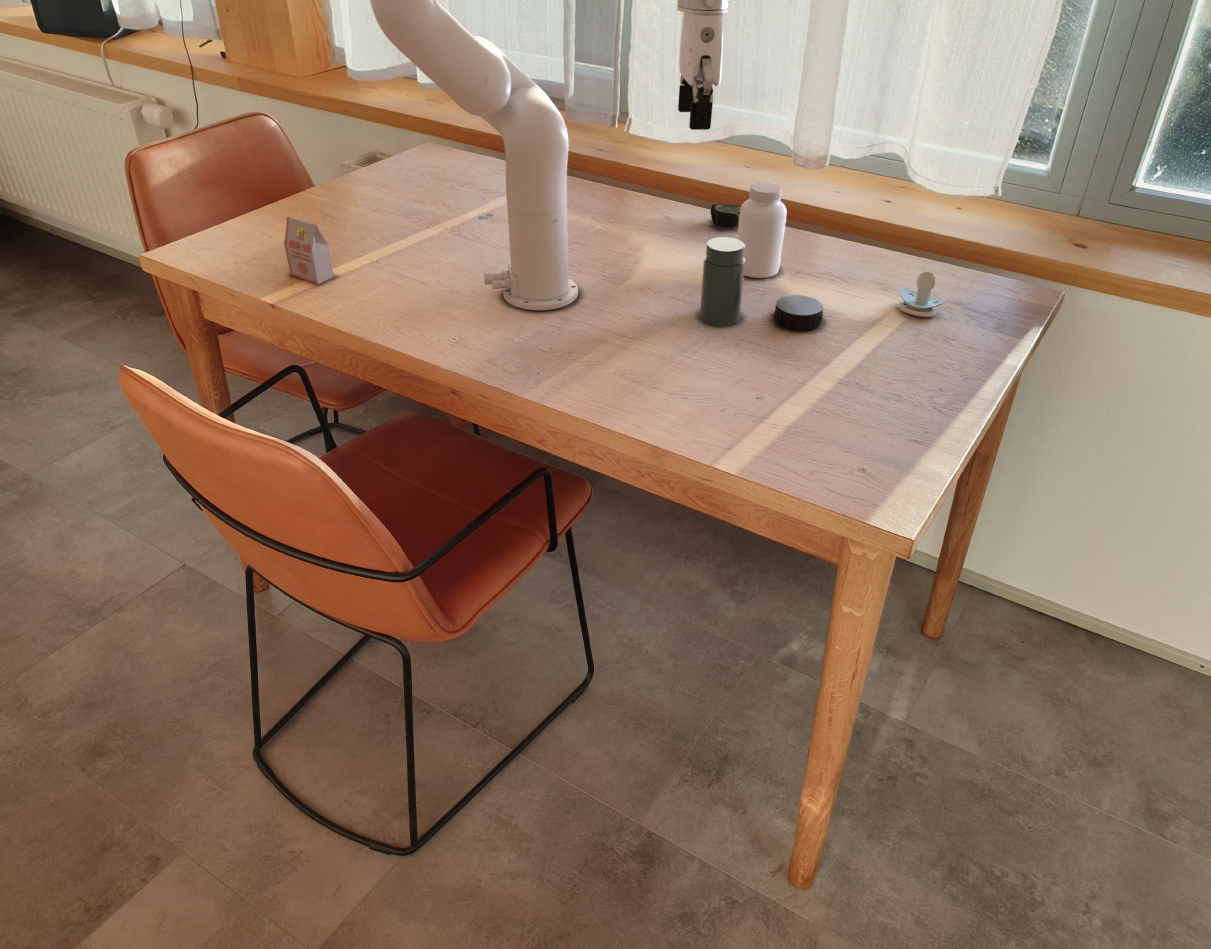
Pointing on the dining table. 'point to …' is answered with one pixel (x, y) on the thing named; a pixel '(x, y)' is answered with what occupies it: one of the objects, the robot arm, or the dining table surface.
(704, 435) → the dining table surface
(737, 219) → the tape measure
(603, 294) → the dining table surface
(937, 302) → the pacifier
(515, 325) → the dining table surface
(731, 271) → the jar
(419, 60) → the robot arm
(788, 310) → the lid
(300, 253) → the white snack box
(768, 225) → the pill bottle
